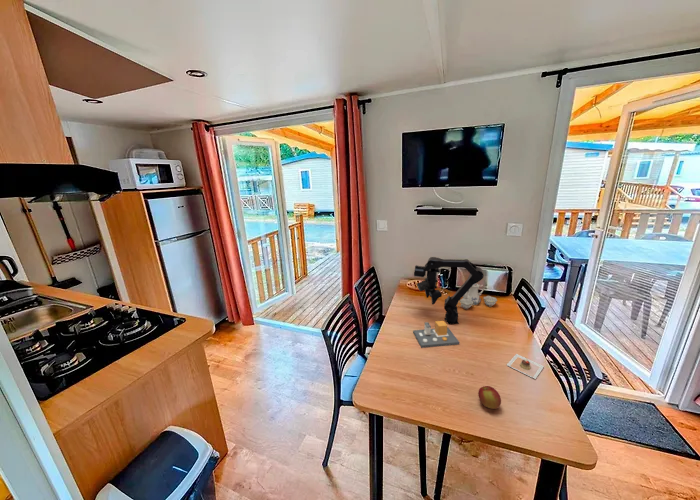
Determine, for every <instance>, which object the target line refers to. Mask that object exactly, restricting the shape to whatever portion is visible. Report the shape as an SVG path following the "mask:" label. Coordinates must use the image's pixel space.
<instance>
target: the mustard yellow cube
mask: <svg viewBox="0 0 700 500" xmlns="http://www.w3.org/2000/svg"><path fill="white" fill-rule="evenodd" d="M448 325H449V324H448V323H446V321H445V320H437V321H436V320H435V321H434V329H435V332H436V333H437V335H438V336H439V335H447V327H449V326H448Z"/></svg>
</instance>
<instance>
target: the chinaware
mask: <svg viewBox="0 0 700 500" xmlns="http://www.w3.org/2000/svg"><path fill="white" fill-rule="evenodd" d="M480 287H482V290H481V291H480V292H479V288H480ZM484 290H485V287H484V285H482V284H478V283H476V284H474V285H473V286H472V287H471V288H470V289H469V290H468V291H467V292H466V293H465V295H464V296H463V297H462V298H461V299H460V300H459V301H458V303H457V307H460V308H463V309H465V310H469V308H471V307H472V306H477V305H479V303H481V302H482V299H481V297H480V296H482V293H483V292H484ZM482 298H483V300H484V303H485V305H486V306H487V307H491V308H492V306H494V305H495V304H496V303H497V302H498V299H497V297H495V296H490V295H485V296H483V297H482ZM459 304H460V305H459Z"/></svg>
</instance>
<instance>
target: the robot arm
mask: <svg viewBox="0 0 700 500" xmlns="http://www.w3.org/2000/svg"><path fill="white" fill-rule="evenodd" d="M441 268H464V269H465V270H466V271H467V272H468V273H469V275H468V278H467V279H466V280H465V281H464V283H462V284H461V286H460V287H459V288H458V289H457V291H456V292H455V293H454V294H453V295H452V296H450V295H448V296H447V297H446V298H445V299H444V306H443V307H444V308H443V309H444V311H445V312H446V313H445V315H444V321H445V323H446V322H447V323H446V324H447V325H457V324H459V321H458V320H459V311H458V310H459V308H458V307H459V306H458V305H457V303H458V304H459V302H460V301H459V300H461V299H462V298H463V296H464V295H465V293H466V292H467V291H469V289H470V288H471V287H472V286H473V285H474V284H478V283H480V281H482V280H483V279H484V271H483V269H482V268H481V267H478V266H476V264H474V263H473V262H471V261H470V260H469V259H446V258H444V259H443V258H439V257H436V256H430V257H429V258H428V259H427V262H426V263H425V264H424V266H423V265H422V266H421V265H417V264H416V265H415V266H414V270H413V276H414V277H419V278H424V277H425V276H426V277H425V278H424V280H421V281H420V282H418V283H416V286H417V287H416V288H418V290H419V291H420V292H422V291H425V296H426V299H428V298H429V297H430V298H431V305H433V306H434V305H435V304H436V302H437V301H438V300H439V298H441V297H442V294H443V293H442V292H441V291H440V290H439V289H438V286H437V283H438V282H439V281H438V279H437V273H439V274H440V273H441ZM467 293H468V292H467Z"/></svg>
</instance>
